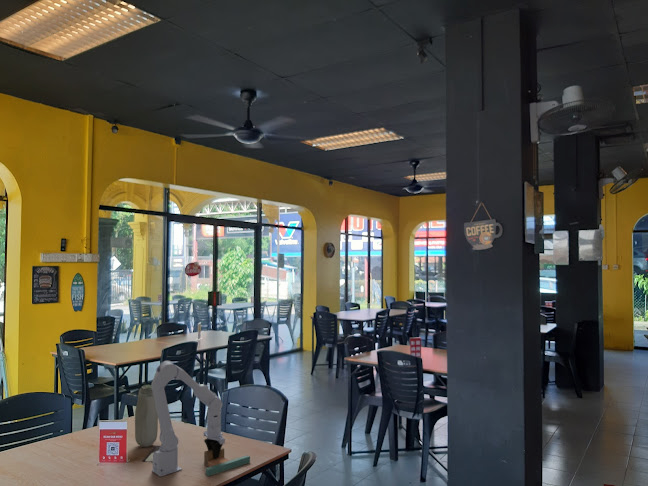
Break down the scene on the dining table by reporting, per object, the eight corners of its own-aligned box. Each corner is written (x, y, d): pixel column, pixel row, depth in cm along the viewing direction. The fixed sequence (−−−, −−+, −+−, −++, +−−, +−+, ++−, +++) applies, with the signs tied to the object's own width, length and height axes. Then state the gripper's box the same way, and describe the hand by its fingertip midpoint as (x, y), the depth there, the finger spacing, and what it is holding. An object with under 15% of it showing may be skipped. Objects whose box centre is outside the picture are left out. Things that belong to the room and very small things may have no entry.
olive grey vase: (158, 447, 229) (158, 386, 230) (134, 450, 225) (135, 388, 227) (157, 440, 238) (157, 382, 240) (134, 443, 234) (135, 384, 236)
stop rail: (208, 476, 197) (208, 469, 197) (205, 474, 199) (205, 468, 199) (249, 462, 211) (249, 456, 211) (247, 461, 212) (247, 455, 212)
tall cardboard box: (207, 465, 208) (207, 453, 208) (204, 463, 210) (204, 451, 210) (224, 460, 213) (224, 448, 214) (220, 458, 216) (220, 446, 216)
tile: (216, 471, 203) (216, 466, 203) (208, 466, 208) (208, 461, 208) (231, 466, 208) (231, 461, 208) (222, 461, 213) (222, 456, 213)
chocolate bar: (174, 445, 231) (163, 460, 213) (174, 447, 231) (163, 462, 213) (155, 445, 230) (142, 460, 212) (155, 447, 230) (142, 462, 212)
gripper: (231, 426, 210) (231, 459, 209) (213, 418, 220) (213, 449, 220) (216, 430, 205) (216, 463, 204) (199, 422, 216) (199, 454, 215)
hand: (213, 456), depth 212 cm, fingers closed on tall cardboard box, 3 cm apart
